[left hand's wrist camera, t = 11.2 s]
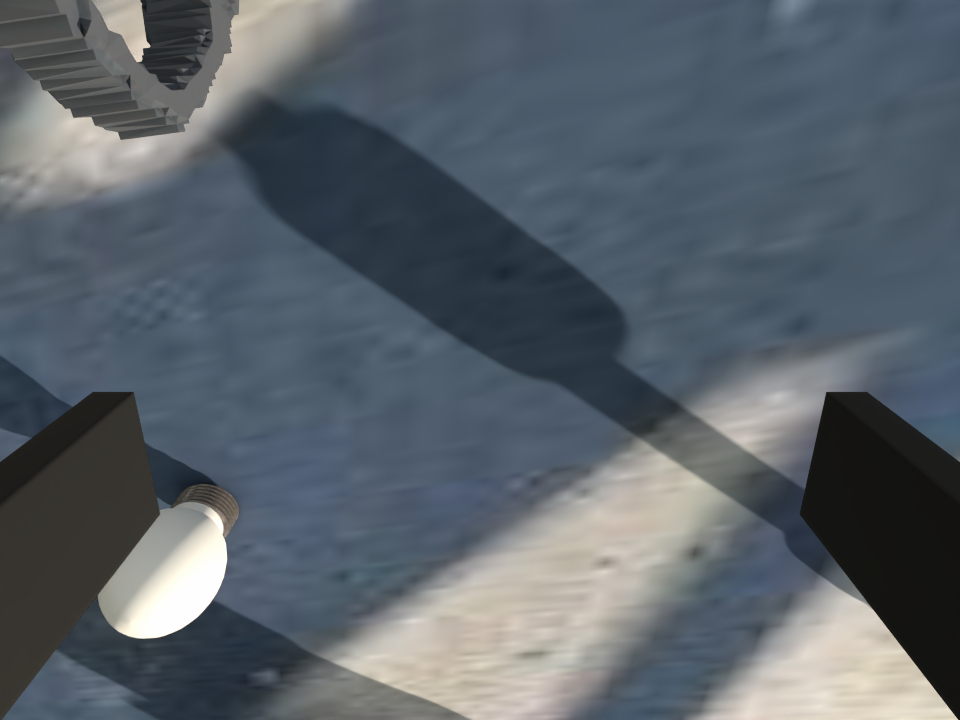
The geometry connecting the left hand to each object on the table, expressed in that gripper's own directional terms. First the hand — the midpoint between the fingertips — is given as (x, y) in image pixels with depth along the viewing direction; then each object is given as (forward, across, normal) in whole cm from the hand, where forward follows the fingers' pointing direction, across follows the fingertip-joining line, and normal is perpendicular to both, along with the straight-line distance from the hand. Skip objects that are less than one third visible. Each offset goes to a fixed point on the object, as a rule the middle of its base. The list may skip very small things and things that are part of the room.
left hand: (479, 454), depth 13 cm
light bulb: (+28, -19, -20) cm, 39 cm away
